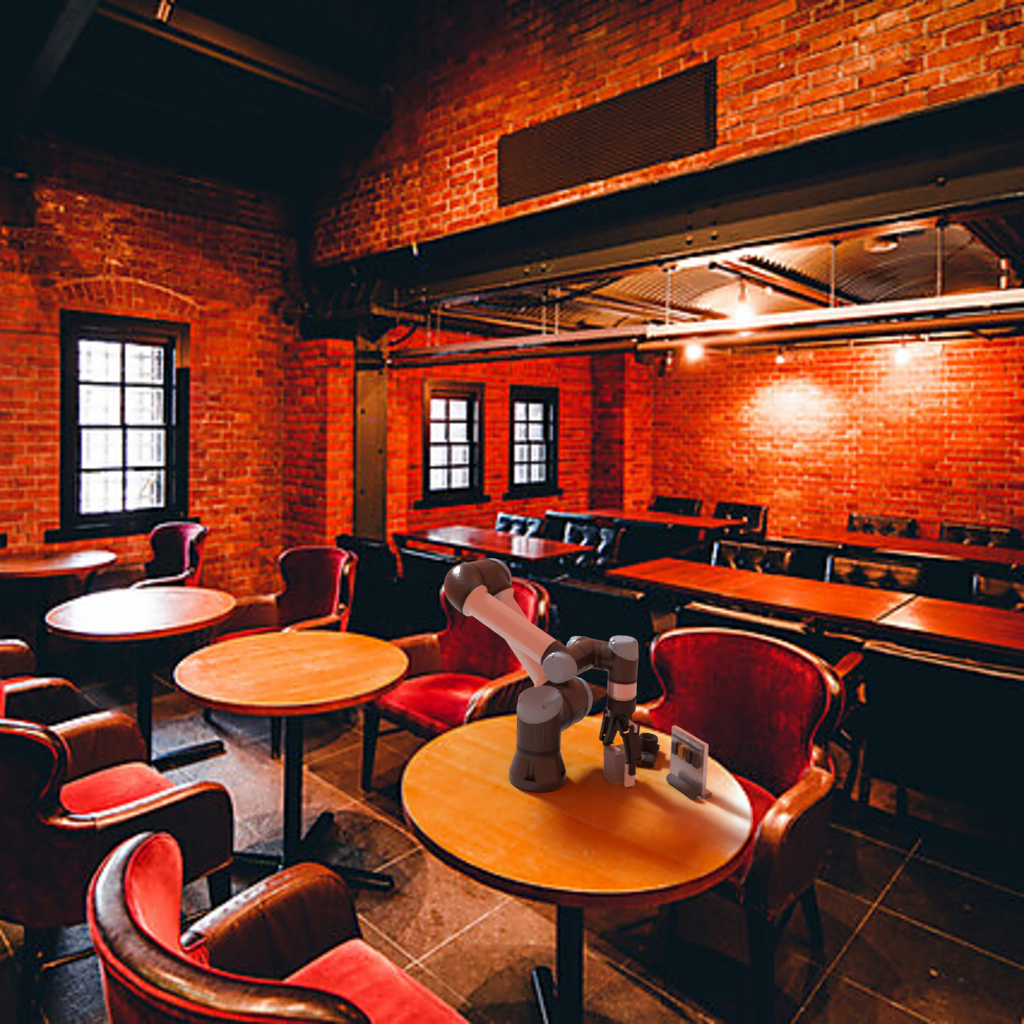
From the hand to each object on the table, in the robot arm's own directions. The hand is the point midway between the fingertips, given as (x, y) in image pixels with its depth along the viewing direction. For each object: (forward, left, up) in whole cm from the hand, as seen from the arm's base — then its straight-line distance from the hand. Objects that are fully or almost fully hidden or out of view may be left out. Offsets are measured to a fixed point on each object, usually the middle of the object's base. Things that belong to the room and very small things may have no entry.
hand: (618, 777), depth 194 cm
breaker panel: (+14, -11, 0) cm, 18 cm away
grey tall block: (0, 0, 0) cm, 0 cm away
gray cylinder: (+11, -12, 0) cm, 16 cm away
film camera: (+14, +8, -1) cm, 16 cm away
